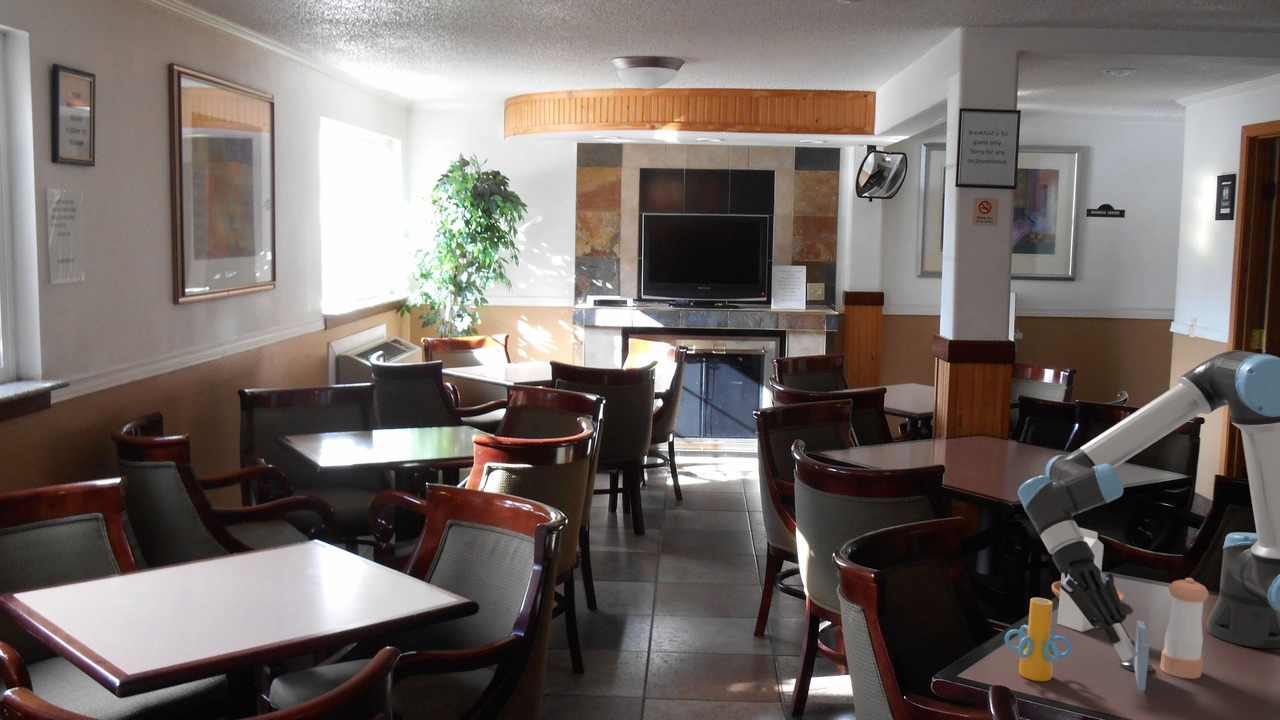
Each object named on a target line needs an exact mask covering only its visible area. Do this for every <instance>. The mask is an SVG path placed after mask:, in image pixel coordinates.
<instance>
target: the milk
mask: <svg viewBox="0 0 1280 720" xmlns="http://www.w3.org/2000/svg"><path fill="white" fill-rule="evenodd" d="M1079 529H1080V531H1081V532H1082V534H1083V536H1084V541H1085V542H1087V543H1088V545H1089V547H1090V548H1091V550H1092V552H1093V554H1094V556H1095V558H1094V564H1095V565H1096V566H1097V567H1098V568H1099V569H1100V571H1101V572H1102V568H1103V567H1102V566H1103V557H1104V544H1103V543H1102V542H1101V541H1100V540H1099V539H1098V535H1099V534H1098V531H1094V530H1090V529H1087V528H1083V527H1079ZM1060 578H1061V579H1060V581H1061V584H1063V583H1064V582H1065V580H1066V578H1065V575H1064V573H1061V577H1060ZM1058 600H1059V601H1058V602H1059V603H1058V611H1057V625H1060V626H1063V627H1066V628H1069V629H1072V630H1075V631H1078V632H1081V633H1082V632H1083V633H1084V632H1085V631H1089V630H1091V629H1092V630H1093V629H1095V628H1096V627H1093V626H1092V625H1091V624H1090V622H1089V621H1088V620H1087V619H1086V617H1085V616H1084V615H1083V613H1082V612H1081V611H1080V609H1079V608H1078V607H1077V605H1076V604H1075V603H1074V601H1073V600H1072V599H1071V597H1070V596H1069V595H1068V594H1067V593H1066V592H1065V591H1064V590H1062V589H1061V587H1060V598H1058Z"/></svg>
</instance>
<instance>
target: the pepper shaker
mask: <svg viewBox="0 0 1280 720" xmlns="http://www.w3.org/2000/svg"><path fill="white" fill-rule="evenodd" d="M1168 592H1169V595H1170V596H1171V597H1172V598H1171V607H1170V614H1169V615H1170V617H1169V620H1168V623H1167V627H1166V630H1165V633H1164V634H1165V635H1164V647H1163V649H1162V651H1161V657H1160V670H1162V671H1163V672H1164V673H1166V674H1168V675H1171V676H1174V677H1177V678H1180V679H1181V678H1182V679H1190V680H1191V679H1192V680H1194V679H1199V678H1201V676H1202V669H1203V662H1204V660H1203V656H1202V650H1203V642H1204V637H1203V627H1202V624H1203V623H1202V619H1203V607H1204V602H1206V600H1207V599H1208V598H1209V596H1210V594H1209V591H1208V589H1207V588H1206V586H1205V585H1203V584H1202V583H1200V582H1197V581H1196V580H1195V579H1194V578H1191V577H1186V578H1185V579H1178V580H1177V579H1176V580H1174V581H1172V582H1171V583H1170V585H1169V586H1168Z"/></svg>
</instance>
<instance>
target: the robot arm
mask: <svg viewBox="0 0 1280 720" xmlns="http://www.w3.org/2000/svg"><path fill="white" fill-rule="evenodd" d="M1226 406H1228V408H1229V414H1230V415H1229V416H1230V422H1231V424H1233V425H1234V426H1235V427H1237V428H1238V429H1240V433H1241V438H1242V439H1241V440H1242V445H1243V452H1244V459H1245V465H1246V473H1247V478H1248V484H1249V485H1248V486H1249V491H1250V498H1251V505H1252V511H1253V517H1254V524H1255V530H1256V532H1239V531H1238V532H1237V531H1236V532H1230V533H1227V534H1226V536H1225V538H1224V539H1225V540H1224V543H1223V546H1222V550H1223V552H1222V561H1221V562H1222V563H1221V571H1220V581H1219V583H1220V584H1219V592H1218V593H1219V594H1218V598H1217V600H1216V602H1215V603H1214V606H1213V608H1212V609H1211V612H1210V614H1209V616H1208V618H1207V622H1206V630H1207V632H1208V633H1209V634H1210V635H1212V636H1214V637H1215V638H1217V639H1221V640H1223V641H1226V642H1228V643H1231V644H1234V645H1235V644H1236V645H1239V646H1244V647H1250V648H1255V649H1256V648H1258V649H1279V648H1280V357H1278V356H1276V355H1272V354H1268V353H1258V352H1251V351H1247V350H1243V349H1241V350H1240V349H1234V350H1228V351H1223V352H1221V353H1218V354H1215V355H1214V356H1212V357H1210V358H1209V359H1207V360H1205V361H1203V362H1202V363H1200V364H1198V365H1197V366H1195V367H1194V368H1192V369H1190V370H1189V371H1187V372H1186V373H1184V374H1182V375H1181V376H1179V377H1178V378H1177V384H1176V385H1174V386H1173V387H1171V388H1170V389H1168V390H1167V391H1165V392H1163V393H1162V394H1161V395H1159V396H1158V397H1156V398H1154V399H1153V400H1151V401H1150V402H1148V403H1147V404H1145V405H1144V406H1141V408H1139V409H1137V410H1136V411H1135V412H1133V413H1132V414H1130V415H1128V416H1127V417H1125V418H1123V419H1122V420H1121V421H1119V422H1117V423H1116V424H1114V425H1113V426H1111V427H1109V428H1108V429H1107V430H1105V431H1103V432H1102V433H1100V434H1099V435H1098V436H1096V437H1094V438H1093V439H1091V440H1090V441H1088V442H1086V443H1085V444H1084V445H1082V446H1080V448H1077V449H1075V450H1074V451H1073V452H1071V453H1069V454H1059V455H1056V456H1054V457H1051V459H1049V461H1048V462H1047V464H1046V466H1045V474H1044V475H1040V476H1035V477H1031V478H1030V479H1028V480H1026V481H1025V482H1024V483H1022V484H1021V485H1020V486H1019V488H1018V490H1017V496H1018V498H1019V500H1020V502H1021V504H1022V507H1023V508H1024V512H1025V513H1026V514H1027V516H1028V517H1029V520H1030V521H1031V523H1032V524H1033V526H1034V528H1035V529H1036V531H1037V533H1038V535H1039V537H1040V538H1041V540H1042V543H1043V544H1044V546H1045V547H1046V550H1047V552H1048V553H1049V554H1050V555H1052V556H1051V559H1052V561H1053V563H1054V565H1055V566H1056V568H1057V570H1058V572H1060V573H1061V574H1062V573H1064V575H1065V578H1066V580H1065V582H1064V583H1063V584H1061V585H1060V587H1061V589H1062V590H1064V591H1065V592H1066V593H1067V594H1068V595H1069V596H1070V597H1071V599H1072V600H1073V601H1074V603H1075V604H1076V605H1077V607H1078V608H1079V609H1080V611H1081V612H1082V613H1083V615H1084V616H1085V617H1086V619H1087V620H1088V621H1089V622H1090V624H1091V625H1092V626H1093V627H1095V628H1097V631H1099V632H1102V631H1103V632H1104V634H1105V635H1106V637H1107V639H1108V641H1109V642H1110V644H1111V645H1113V646H1114V649H1115V651H1116V652H1117V654H1118V655H1119V659H1122V661H1128V660H1130V659H1131V658H1133V657H1135V656H1136V655H1138V654H1137V652H1136V650H1135V648H1134V645H1133V643H1132V641H1131V640H1130V635H1129V634H1128V632H1127V630H1126V629H1125V626H1124V625H1123V622H1124V621H1125V620H1126V619H1127V614H1126V611H1125V609H1124V606H1123V602H1122V603H1121V601H1120V598H1119V596H1118V593H1117V591H1118V590H1117V588H1116V586H1115V579H1114V575H1113V574H1112V573H1110V572H1109V573H1108V574H1105V573H1103V572H1102V570H1101V571H1100V569H1099V568H1098V567H1097V566H1096V565H1095V564H1094V558H1095V556H1094V554H1093V552H1092V550H1091V548H1090V547H1089V545H1088V543H1087V542H1085V541H1084V536H1083V534H1082V532H1081V531H1080V529H1079V528H1080V527H1079V526H1078V524H1077V523H1076V521H1075V519H1074V518H1073V517H1074V516H1075V515H1078V514H1080V513H1081V514H1082V513H1083V512H1086V511H1089V510H1091V509H1093V508H1097V507H1099V506H1102V505H1105V504H1109V503H1110V502H1112V501H1114V500H1116V499H1118V498H1120V497H1122V495H1123V494H1124V485H1123V483H1122V479H1121V477H1120V475H1119V474H1118V472H1117V470H1116V469H1115V468H1117V467H1119V466H1120V465H1121V464H1123V463H1124V462H1126V461H1128V460H1129V459H1132V457H1134V456H1135V455H1137V454H1138V453H1140V452H1142V451H1143V450H1145V449H1147V448H1148V447H1150V446H1151V445H1153V444H1154V443H1157V442H1158V441H1159V440H1161V439H1162V438H1163V437H1165V436H1167V435H1169V434H1170V433H1172V432H1173V431H1174V430H1176V429H1178V428H1179V427H1181V426H1183V425H1184V424H1186V423H1187V422H1189V421H1191V420H1192V419H1194V418H1195V417H1197V416H1199V415H1200V414H1202V415H1209V414H1211V413H1213V412H1214V411H1215V410H1217V409H1220V408H1223V407H1226Z"/></svg>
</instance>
